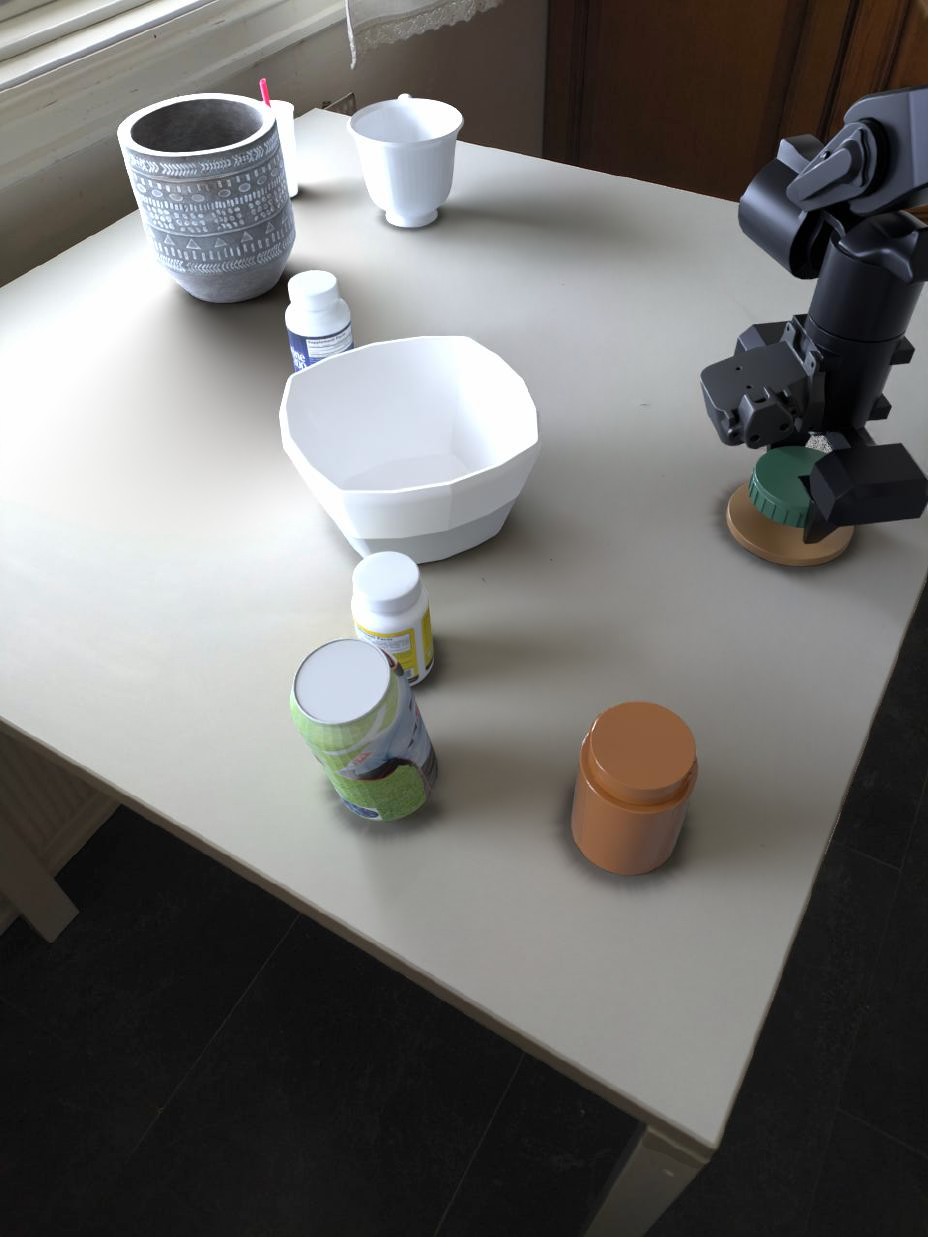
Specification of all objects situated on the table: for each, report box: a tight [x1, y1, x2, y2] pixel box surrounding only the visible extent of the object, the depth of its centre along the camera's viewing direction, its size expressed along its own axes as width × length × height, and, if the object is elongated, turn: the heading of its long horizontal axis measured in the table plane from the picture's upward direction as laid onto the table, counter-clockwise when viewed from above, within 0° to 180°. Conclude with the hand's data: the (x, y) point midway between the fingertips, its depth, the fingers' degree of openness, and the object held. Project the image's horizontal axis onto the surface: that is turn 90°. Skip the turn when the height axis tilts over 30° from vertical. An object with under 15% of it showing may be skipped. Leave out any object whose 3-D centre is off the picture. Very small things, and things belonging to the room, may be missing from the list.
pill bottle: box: [284, 269, 356, 373], centre depth 76 cm, size 5×5×10 cm
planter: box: [117, 93, 297, 304], centre depth 87 cm, size 14×14×15 cm
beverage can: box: [289, 637, 439, 822], centre depth 49 cm, size 6×7×12 cm
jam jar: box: [570, 700, 700, 876], centre depth 48 cm, size 6×6×9 cm
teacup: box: [346, 93, 465, 229], centre depth 98 cm, size 12×15×10 cm
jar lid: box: [748, 446, 828, 528], centre depth 64 cm, size 7×7×2 cm
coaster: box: [725, 480, 855, 567], centre depth 67 cm, size 9×9×1 cm
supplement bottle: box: [351, 552, 435, 687], centre depth 56 cm, size 5×5×8 cm
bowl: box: [279, 335, 543, 565], centre depth 65 cm, size 18×18×9 cm
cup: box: [259, 78, 299, 198], centre depth 100 cm, size 5×5×12 cm
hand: (792, 509), depth 66 cm, fingers closed on jar lid, 6 cm apart
